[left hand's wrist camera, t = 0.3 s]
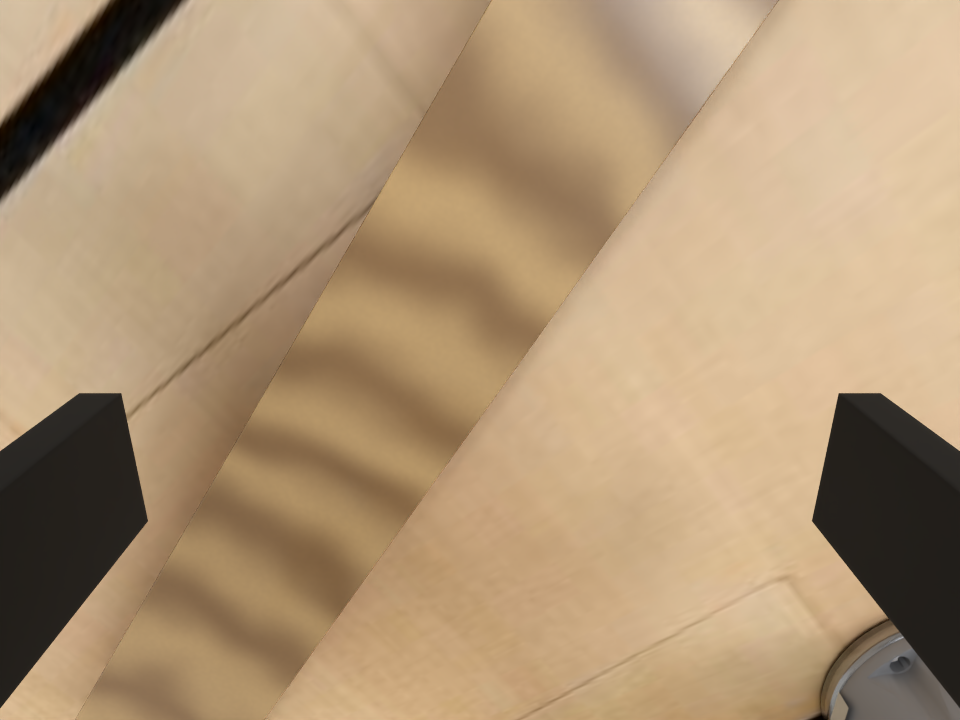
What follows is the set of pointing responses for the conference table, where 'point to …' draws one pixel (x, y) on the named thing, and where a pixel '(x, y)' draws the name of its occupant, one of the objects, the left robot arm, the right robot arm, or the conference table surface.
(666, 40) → the thick board
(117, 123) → the conference table surface
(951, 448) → the left robot arm
